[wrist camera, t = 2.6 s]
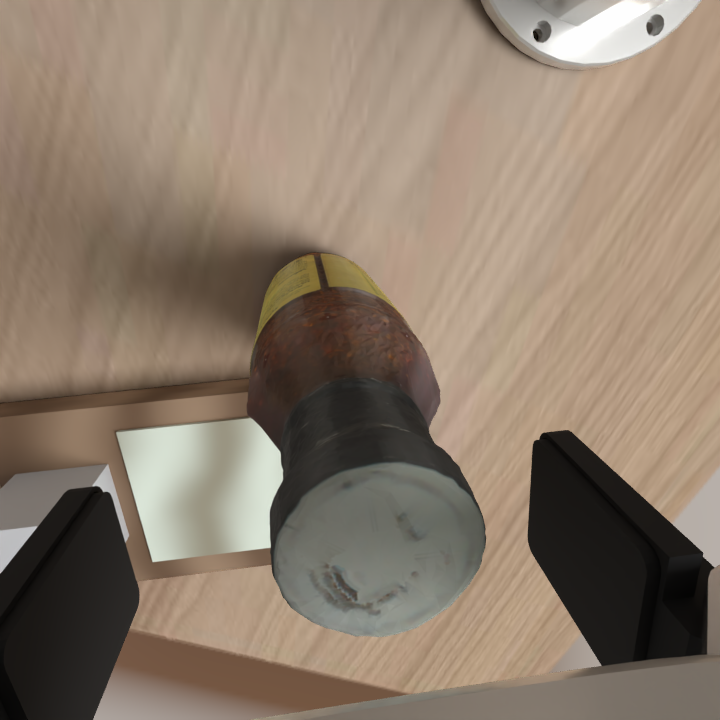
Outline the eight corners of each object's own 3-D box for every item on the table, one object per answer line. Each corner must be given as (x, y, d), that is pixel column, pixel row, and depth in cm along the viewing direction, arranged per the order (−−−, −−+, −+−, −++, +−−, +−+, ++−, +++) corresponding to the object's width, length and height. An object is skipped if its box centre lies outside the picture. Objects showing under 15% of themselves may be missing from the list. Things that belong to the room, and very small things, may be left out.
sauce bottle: (272, 360, 28) (197, 711, 10) (259, 251, 26) (128, 431, 7) (384, 351, 29) (520, 669, 10) (380, 243, 26) (546, 394, 8)
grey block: (107, 463, 27) (65, 522, 22) (129, 535, 29) (94, 603, 24) (15, 474, 27) (-47, 535, 22) (42, 545, 29) (-10, 617, 24)
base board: (280, 375, 28) (278, 390, 26) (303, 538, 33) (302, 562, 31) (-3, 403, 27) (-28, 421, 25) (58, 568, 32) (41, 595, 30)
